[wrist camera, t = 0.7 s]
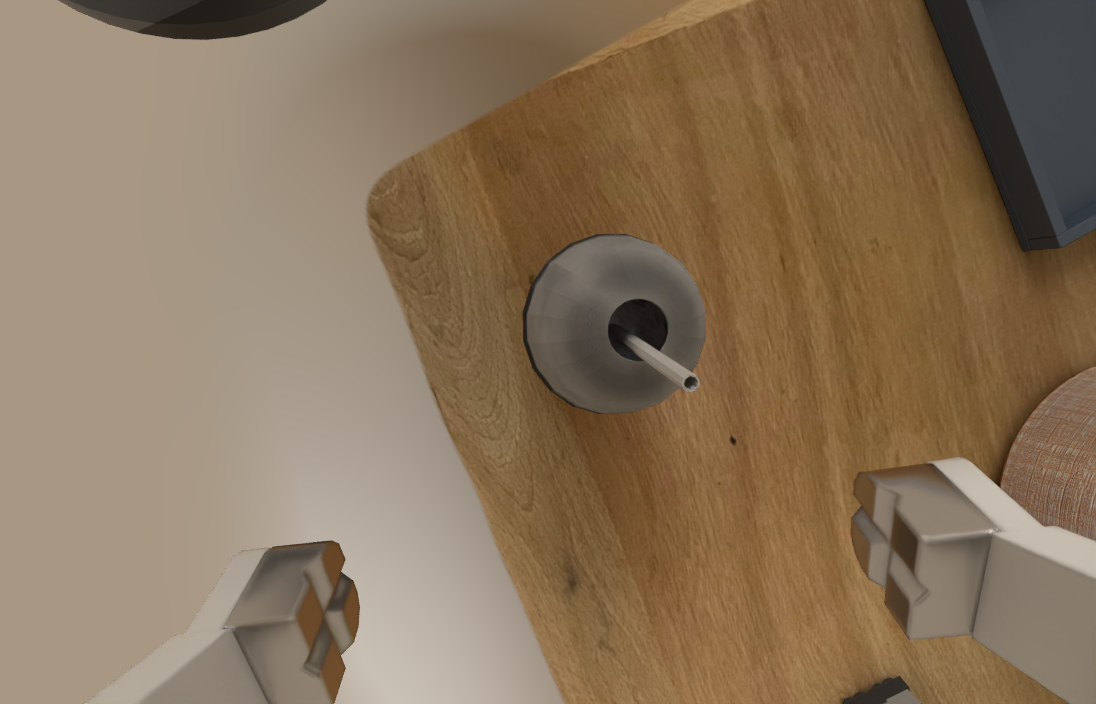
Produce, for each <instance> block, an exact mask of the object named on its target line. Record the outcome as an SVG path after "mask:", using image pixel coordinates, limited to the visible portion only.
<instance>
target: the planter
mask: <svg viewBox="0 0 1096 704" xmlns="http://www.w3.org/2000/svg"><path fill="white" fill-rule="evenodd" d="M999 487H1000V488H1001V489H1002V490H1003V491H1004V492H1005V493H1006V494H1007V495H1009V496H1010V497H1011V498H1012V499H1013V500H1014V501H1015V502H1016V503H1018V504H1019V505H1020V506H1021V507H1022V508H1023V509H1024V510H1025V511H1027V512H1028V513H1029V514H1030V515H1031V516H1032V517H1033V518H1034V519H1036V520H1037V521H1038V522H1039V523H1040V524H1041V525H1042V526H1043V527H1048V526H1058V527H1060V528H1063V529H1065V530H1068V531H1070V532H1073V533H1076V534H1078V535H1081V536H1083V537H1086V538H1089V539H1091V540H1094V541H1096V366H1094V367H1091V368H1089V369H1086V370H1084V371H1082V372H1080V373H1078V374H1076V375H1074V376H1072V377H1071V378H1069V379H1067V380H1066V381H1064V382H1063V383H1062V384H1060V385H1059V386H1058V387H1056V388H1055V389H1054V390H1053V391H1051V392H1050V393H1049V394H1048V395H1047V396H1046V397H1045V398H1044V399H1043V400H1042V401H1041V402H1040V403H1039V404H1038V405H1037V406H1036V407H1035V408H1034V410H1033V411H1032V412H1031V413H1030V415H1029V416H1028V417H1027V419H1026V420H1025V422H1024V423H1023V425H1022V426H1021V428H1020V430H1019V431H1018V433H1017V435H1016V436H1015V438H1014V440H1013V442H1012V445H1011V447H1010V449H1009V452H1008V455H1007V458H1006V461H1005V464H1004V467H1003V471H1002V475H1001V480H1000V486H999Z"/></svg>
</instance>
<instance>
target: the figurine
mask: <svg viewBox="0 0 1096 704" xmlns="http://www.w3.org/2000/svg"><path fill="white" fill-rule="evenodd" d="M843 704H921V702H920V701H919V700H918V699H917V698H916V697H915V696H914V695H913V694H912V693H911V692H910V689H909V687H908V685H907V684H906V683H905V682H904V681H903V679H902V678H901V677H900V676H898V677H896V678H894V679H891V678H887V679H885V680H884V684H875V685H874V686H873V689H872V690H870V691H868V692H866V693H863V692H858V693H856V695H855V698H846V699H845V700H844V703H843Z"/></svg>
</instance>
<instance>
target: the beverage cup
mask: <svg viewBox="0 0 1096 704" xmlns="http://www.w3.org/2000/svg"><path fill="white" fill-rule="evenodd" d="M705 335H706V311H705V308H704V305H703V302H702V298H701V295H700V292H699V289H698V285H697V284H696V283H695V281H694V280H693V278H692V277H691V275H690V274H689V273H688V271H687V270H686V268H685V267H684V265H683V264H682V263H681V262H680V261H678V260H677V259H676V258H674V257H673V256H672V255H670V254H669V253H668V252H666V251H665V250H664V249H662V248H661V247H659V246H658V245H655V244H653V243H651V242H648V241H645V240H642V239H639V238H636V237H633V236H630V235H627V234H597V235H594V236H591V237H588V238H585V239H582V240H579V241H576V242H573V243H571V244H569V245H568V246H567V247H565V248H564V249H563V250H561V251H560V252H559V253H557V254H556V255H555V256H553V257H552V258H551V259H549V260H548V261H547V263H546V264H545V265H544V267H543V268H542V270H541V271H540V273H539V274H538V276H537V277H536V278H535V280H534V281H533V283H532V284H531V287H530V290H529V293H528V297H527V300H526V304H525V307H524V310H523V342H524V345H525V348H526V350H527V353H528V356H529V359H530V362H531V365H532V368H533V369H534V371H535V372H536V373H537V375H538V376H539V377H540V378H541V380H542V381H543V382H544V384H545V385H546V386H547V388H548V389H549V390H550V391H551V392H552V393H554V394H555V395H557V396H558V397H560V398H561V399H563V400H564V401H566V402H567V403H569V404H570V405H572V406H573V407H577V408H580V409H584V410H587V411H591V412H594V413H598V414H611V413H631V412H637V411H640V410H642V409H645V408H648V407H651V406H653V405H656V404H659V403H661V402H662V401H664V400H665V399H666V398H667V397H669V396H670V395H671V394H673V393H674V392H675V391H676V390H678V389H679V388H680V387H681V388H682V389H683V390H685V391H688V392H693V391H694V390H696V389H698V386H699V383H700V381H699V379H698V377H697V376H696V375H695V374H693V373H692V371H693V369H694V368H695V367H696V365H697V364H698V361H699V357H700V354H701V351H702V348H703V345H704V342H705Z"/></svg>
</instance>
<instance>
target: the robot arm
mask: <svg viewBox="0 0 1096 704" xmlns="http://www.w3.org/2000/svg"><path fill="white" fill-rule="evenodd" d="M853 495H854V496H855V497H856V499H857V500H858V501H859V503H860V504H861V505H862V506H861V507H860V508H859V509H858V510H857V512H856V513H855V514H854V515H853V516H852V517H851V538H852V542H853V547H854V551H855V554H856V557H857V559H858V561H859V564H860V566H861V568H862V569H863V571H864V572H865V574H866V576H867V577H868V579H869V580H871V581H873V582H874V583H876V584H878V585H880V586H881V587H883V588H885V589H886V592H885V602H884V603H885V605H886V606H887V608H888V609H889V611H890V612H891V614H892V615H893V617H894V618H895V620H896V621H897V623H898V624H899V626H900V627H901V629H902V630H903V632H904V633H905V635H906V636H907V638H908V639H909V641H910V640H921V639H932V638H943V637H954V636H966V635H972V638H973V639H974V640H976V641H977V642H979V643H980V644H982V645H983V646H985V647H986V648H988V649H989V650H991V651H992V652H994V653H995V654H996V655H998V656H999V657H1001V658H1002V659H1004V660H1005V661H1007V662H1008V663H1010V664H1011V665H1013V666H1014V667H1016V668H1017V669H1019V670H1020V671H1022V672H1023V673H1025V674H1026V675H1028V676H1029V677H1030V678H1032V679H1033V680H1035V681H1036V682H1038V683H1039V684H1041V685H1042V686H1044V687H1045V688H1047V689H1048V690H1050V691H1051V692H1053V693H1054V694H1056V695H1057V696H1059V697H1060V698H1062V699H1063V700H1064V701H1066V702H1067V703H1069V704H1096V541H1094V540H1091V539H1089V538H1086V537H1083V536H1081V535H1078V534H1076V533H1073V532H1070V531H1068V530H1065V529H1063V528H1060V527H1058V526H1048V527H1043V526H1042V525H1041V524H1040V523H1039V522H1038V521H1037V520H1036V519H1034V518H1033V517H1032V516H1031V515H1030V514H1029V513H1028V512H1027V511H1025V510H1024V509H1023V508H1022V507H1021V506H1020V505H1019V504H1018V503H1016V502H1015V501H1014V500H1013V499H1012V498H1011V497H1010V496H1009V495H1007V494H1006V493H1005V492H1004V491H1003V490H1002V489H1001V488H1000V487H998V486H997V485H996V484H995V483H994V482H993V481H992V480H991V479H989V478H988V477H987V476H986V475H985V474H984V473H983V472H982V471H980V470H979V469H978V468H977V467H976V466H975V465H974V464H973V463H971V462H970V461H969V460H966V459H964V458H961V457H957V458H950V459H944V460H937V461H931V462H926V463H925V464H916V465H909V466H902V467H894V468H887V469H879V470H872V471H865V472H858V474H857V476H856V478H855V481H854V491H853ZM344 562H345V557H344V555H343V553H342V550H341V548H340V545H339V543H336V542H334V541H322V542H313V543H304V544H294V545H285V546H275V547H272V548H261V549H253V550H244V551H241V552H239V553H238V554H236V555H234V557H233V558H232V559H231V561H230V563H229V564H228V566H227V567H226V569H225V571H224V572H223V574H222V575H221V577H220V579H219V580H218V582H217V583H216V585H215V587H214V588H213V590H212V591H211V593H210V595H209V596H208V598H207V599H206V601H205V603H204V604H203V606H202V607H201V609H200V610H199V612H198V614H197V615H196V617H195V619H194V620H193V622H192V623H191V625H190V626H189V628H188V630H187V631H186V633H185V634H181V635H175V636H173V637H172V638H171V639H169V640H168V641H167V642H165V643H164V644H163V645H161V646H160V647H159V648H157V649H156V650H155V651H153V652H152V653H151V654H149V655H148V656H147V657H145V658H144V659H143V660H141V661H140V662H138V663H137V664H136V665H134V666H133V667H132V668H131V669H129V670H128V671H126V672H125V673H124V674H122V675H121V676H120V677H119V678H117V679H116V680H114V681H113V682H112V683H110V684H109V685H108V686H107V687H105V688H104V689H103V690H101V691H100V692H98V693H97V694H96V695H94V696H93V697H92V698H91V699H89V700H88V701H86V702H85V703H84V704H334V703H335V699H336V696H337V693H338V690H339V687H340V684H341V681H342V678H343V675H344V672H345V669H346V668H345V665H344V663H343V660H342V658H341V655H342V654H343V653H344V652H345V651H346V649H348V648H349V647H350V646H351V645H352V644H353V643H354V640H355V636H356V633H357V629H358V625H359V610H360V605H359V599H358V593H357V590H356V587H355V584H354V581H353V580H351V579H350V578H349V577H347V576H346V575H345V574H343V573H342V572H341V570H342V567H343V565H344Z"/></svg>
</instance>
